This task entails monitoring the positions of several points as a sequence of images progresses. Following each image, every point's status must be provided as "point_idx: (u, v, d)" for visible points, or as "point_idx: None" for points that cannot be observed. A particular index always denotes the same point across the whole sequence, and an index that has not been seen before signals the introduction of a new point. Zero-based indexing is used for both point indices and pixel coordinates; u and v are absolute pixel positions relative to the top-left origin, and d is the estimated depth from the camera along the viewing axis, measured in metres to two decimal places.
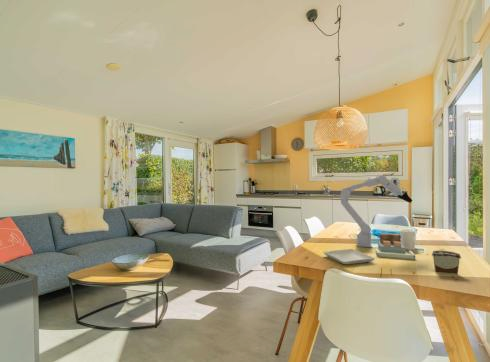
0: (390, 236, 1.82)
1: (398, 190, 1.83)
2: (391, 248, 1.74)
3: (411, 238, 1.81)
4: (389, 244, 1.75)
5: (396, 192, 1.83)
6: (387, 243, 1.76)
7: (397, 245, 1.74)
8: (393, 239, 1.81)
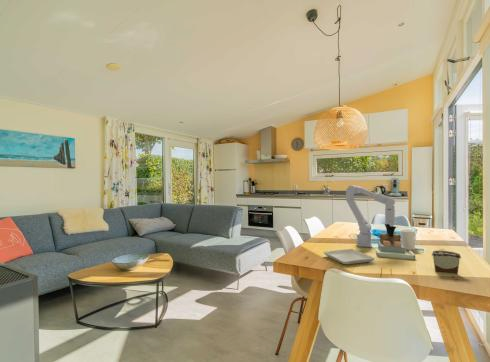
0: None
1: (391, 220, 1.81)
2: (391, 248, 1.74)
3: (411, 238, 1.81)
4: (389, 244, 1.75)
5: (388, 220, 1.81)
6: (387, 243, 1.76)
7: (397, 245, 1.74)
8: (393, 239, 1.81)
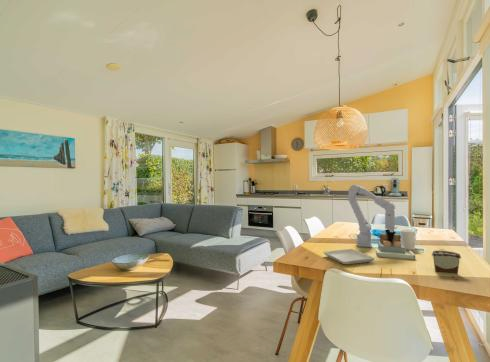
0: None
1: (391, 226, 1.81)
2: (391, 248, 1.74)
3: (411, 238, 1.81)
4: (389, 244, 1.75)
5: (388, 226, 1.81)
6: (387, 243, 1.76)
7: (397, 245, 1.74)
8: (393, 239, 1.81)
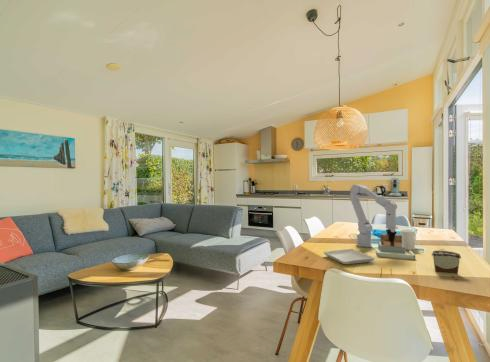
0: None
1: (393, 226, 1.77)
2: (391, 248, 1.74)
3: (411, 238, 1.81)
4: (389, 244, 1.75)
5: (389, 226, 1.78)
6: (387, 243, 1.75)
7: (397, 245, 1.73)
8: (394, 240, 1.78)
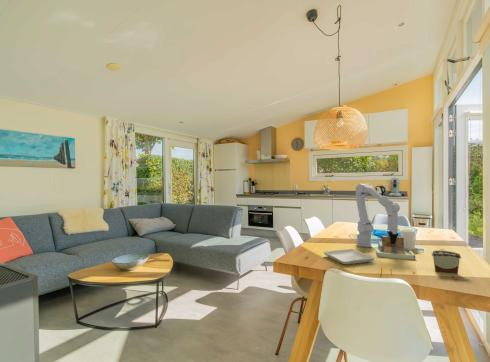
0: None
1: (394, 228, 1.71)
2: (391, 248, 1.74)
3: (411, 238, 1.81)
4: None
5: (391, 227, 1.71)
6: None
7: None
8: (396, 242, 1.71)
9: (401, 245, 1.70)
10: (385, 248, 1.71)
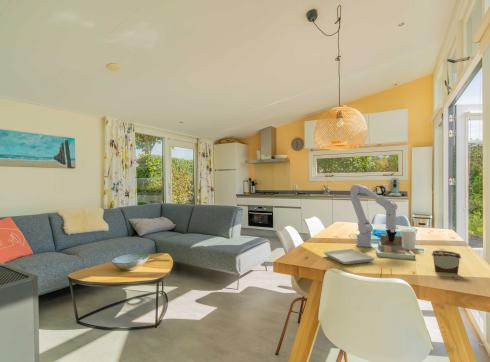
0: None
1: (392, 226, 1.77)
2: (391, 248, 1.74)
3: (411, 238, 1.81)
4: None
5: (389, 226, 1.77)
6: None
7: None
8: (394, 240, 1.77)
9: (399, 243, 1.76)
10: (385, 248, 1.71)
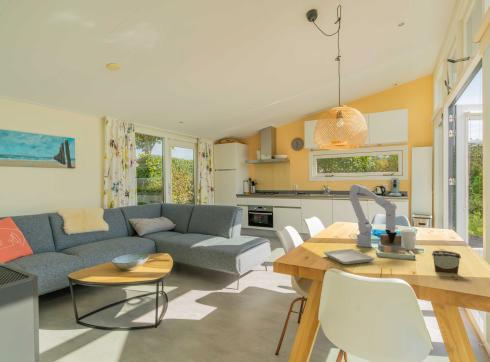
0: None
1: (392, 226, 1.78)
2: (391, 248, 1.74)
3: (411, 238, 1.81)
4: None
5: (389, 226, 1.79)
6: None
7: None
8: (394, 240, 1.79)
9: (399, 243, 1.78)
10: (385, 248, 1.71)
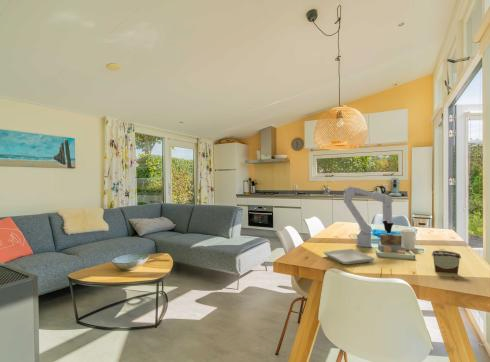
0: (391, 237, 1.79)
1: (389, 217, 1.87)
2: (391, 248, 1.74)
3: (411, 238, 1.81)
4: None
5: (386, 217, 1.87)
6: None
7: None
8: (394, 240, 1.79)
9: (399, 243, 1.78)
10: (385, 248, 1.71)
